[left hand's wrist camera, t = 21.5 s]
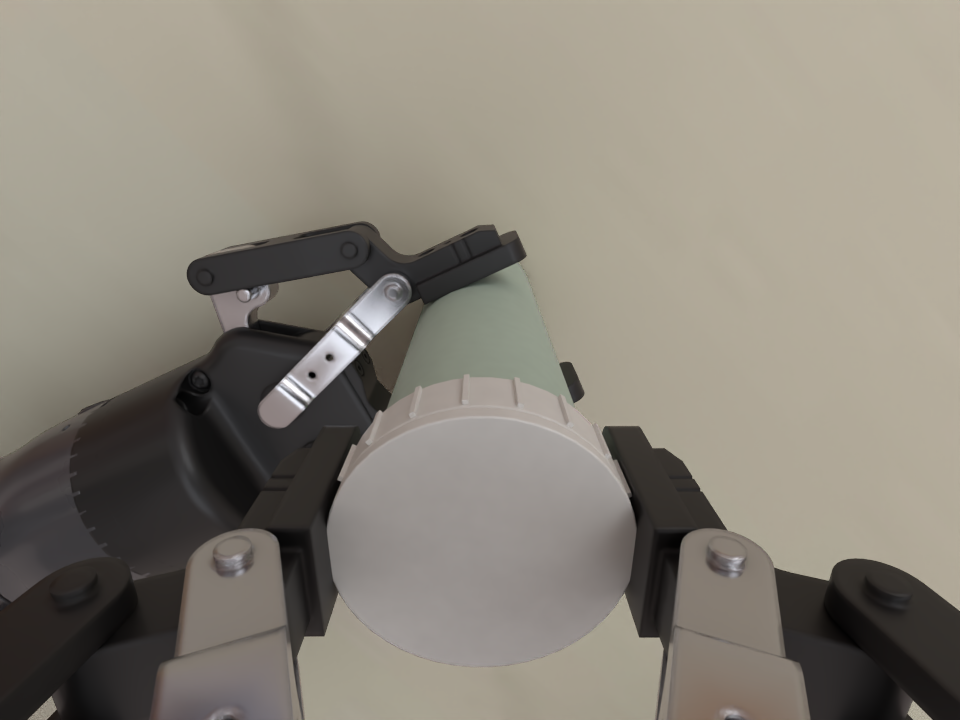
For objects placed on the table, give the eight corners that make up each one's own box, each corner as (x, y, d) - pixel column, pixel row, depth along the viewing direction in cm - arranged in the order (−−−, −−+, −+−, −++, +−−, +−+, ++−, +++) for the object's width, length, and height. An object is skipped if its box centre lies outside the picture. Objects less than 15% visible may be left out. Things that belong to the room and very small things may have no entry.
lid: (598, 611, 12) (615, 677, 11) (345, 598, 12) (325, 664, 10) (643, 382, 10) (671, 424, 8) (338, 363, 10) (313, 402, 8)
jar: (507, 229, 25) (555, 371, 9) (545, 321, 26) (642, 577, 11) (413, 271, 25) (305, 470, 10) (456, 358, 27) (422, 651, 11)
